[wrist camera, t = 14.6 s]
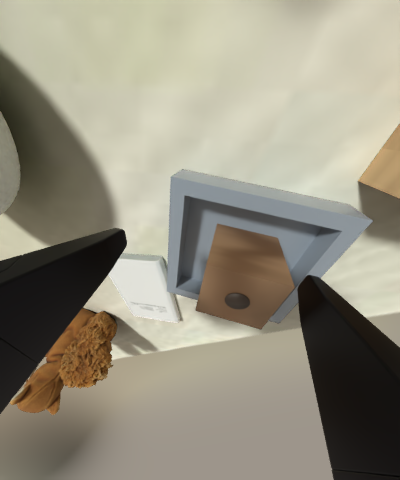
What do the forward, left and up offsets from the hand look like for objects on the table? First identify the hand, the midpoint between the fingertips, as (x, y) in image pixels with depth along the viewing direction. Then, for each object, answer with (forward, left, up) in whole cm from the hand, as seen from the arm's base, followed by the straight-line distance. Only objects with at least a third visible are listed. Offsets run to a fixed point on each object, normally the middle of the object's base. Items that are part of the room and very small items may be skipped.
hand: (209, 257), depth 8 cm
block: (-2, +4, -6) cm, 7 cm away
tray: (-2, +4, -6) cm, 8 cm away
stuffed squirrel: (+18, +29, -7) cm, 35 cm away
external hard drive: (+8, +14, -7) cm, 18 cm away
